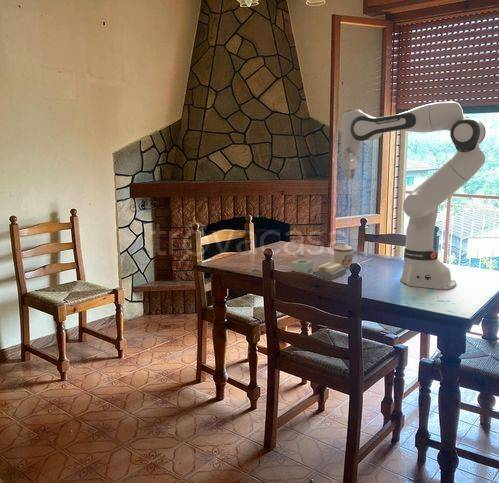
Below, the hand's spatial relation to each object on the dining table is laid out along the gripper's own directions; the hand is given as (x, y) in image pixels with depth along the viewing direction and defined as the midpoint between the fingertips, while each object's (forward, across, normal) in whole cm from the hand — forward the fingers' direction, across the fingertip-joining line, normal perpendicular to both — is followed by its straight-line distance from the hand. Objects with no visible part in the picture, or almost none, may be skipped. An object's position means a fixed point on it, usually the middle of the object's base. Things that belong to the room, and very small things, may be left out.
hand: (349, 179), depth 232 cm
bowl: (+42, -6, +20) cm, 47 cm away
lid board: (+40, -8, +6) cm, 41 cm away
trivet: (+42, -8, +6) cm, 44 cm away
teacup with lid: (+43, +11, +4) cm, 44 cm away
